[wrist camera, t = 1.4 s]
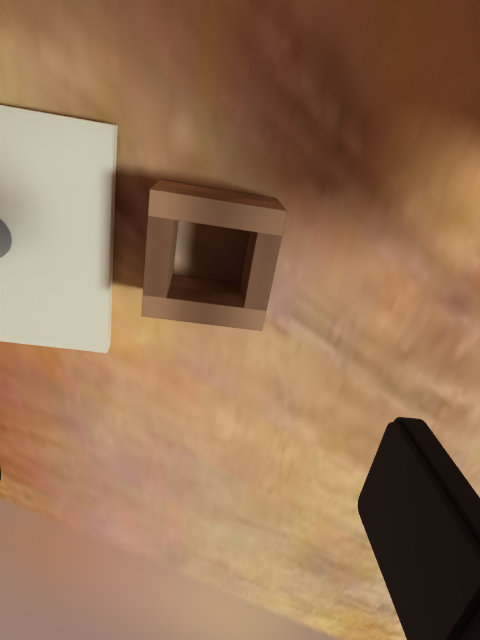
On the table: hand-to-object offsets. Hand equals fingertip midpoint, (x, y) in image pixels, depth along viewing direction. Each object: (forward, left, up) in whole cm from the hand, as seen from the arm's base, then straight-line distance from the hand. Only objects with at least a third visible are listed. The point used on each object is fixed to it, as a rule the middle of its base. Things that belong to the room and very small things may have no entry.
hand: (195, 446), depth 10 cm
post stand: (+13, +1, -18) cm, 22 cm away
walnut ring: (0, 0, -18) cm, 18 cm away
